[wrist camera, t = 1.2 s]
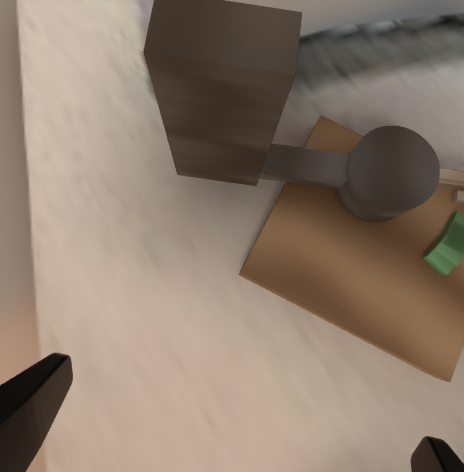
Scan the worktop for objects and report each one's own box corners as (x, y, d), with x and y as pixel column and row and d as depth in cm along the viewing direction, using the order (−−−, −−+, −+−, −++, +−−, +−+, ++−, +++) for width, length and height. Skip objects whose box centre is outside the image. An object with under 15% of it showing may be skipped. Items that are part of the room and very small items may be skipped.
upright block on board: (478, 163, 23) (703, 43, 13) (478, 236, 22) (724, 173, 12) (186, 121, 23) (162, -42, 12) (174, 194, 22) (136, 87, 11)
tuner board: (434, 377, 22) (456, 384, 20) (238, 274, 23) (241, 271, 21) (493, 215, 25) (519, 207, 23) (314, 126, 25) (323, 110, 23)
